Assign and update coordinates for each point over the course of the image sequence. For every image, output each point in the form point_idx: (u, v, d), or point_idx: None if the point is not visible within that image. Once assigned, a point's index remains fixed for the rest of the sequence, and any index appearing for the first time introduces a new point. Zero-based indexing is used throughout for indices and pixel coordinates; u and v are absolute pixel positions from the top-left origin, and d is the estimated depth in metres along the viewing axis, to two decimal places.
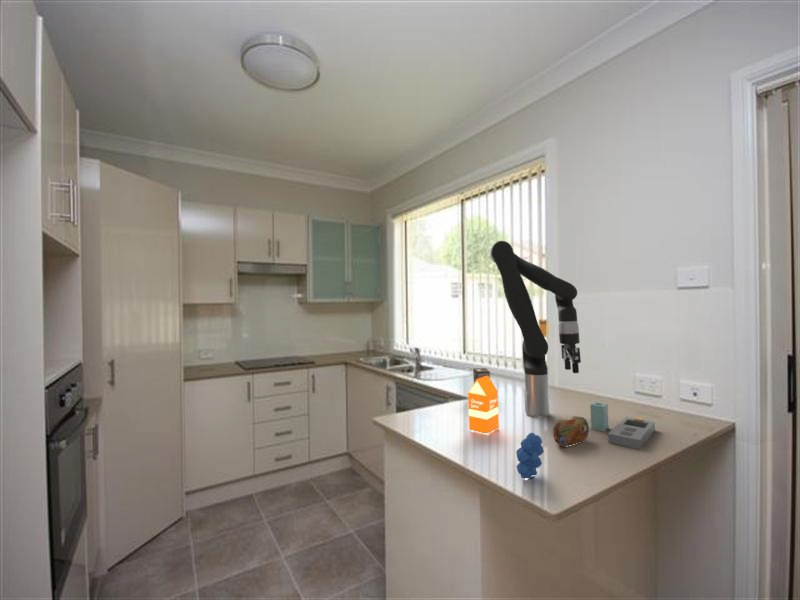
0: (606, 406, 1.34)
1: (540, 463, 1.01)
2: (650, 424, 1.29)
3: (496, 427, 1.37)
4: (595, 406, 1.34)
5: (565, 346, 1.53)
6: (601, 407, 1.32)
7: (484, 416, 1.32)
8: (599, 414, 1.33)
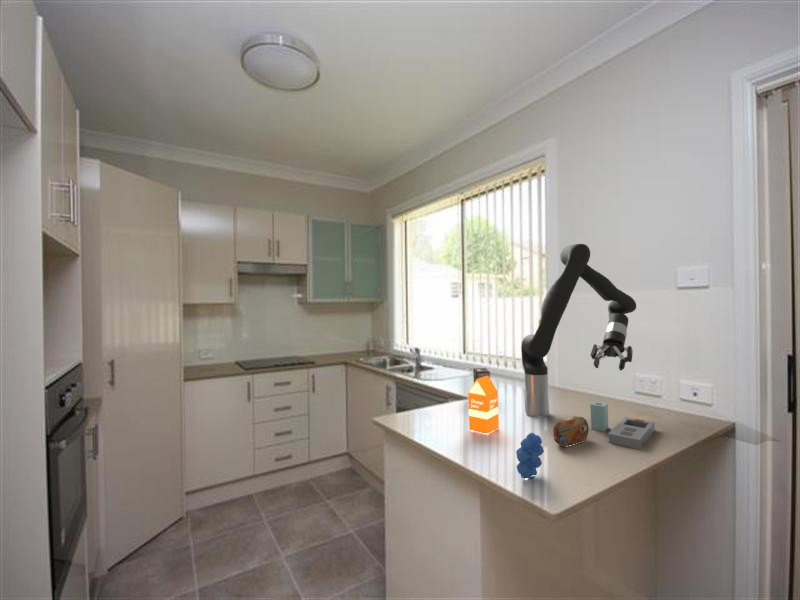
0: (606, 406, 1.34)
1: (540, 463, 1.01)
2: (650, 424, 1.29)
3: (496, 427, 1.37)
4: (595, 406, 1.34)
5: (606, 345, 1.49)
6: (601, 407, 1.32)
7: (484, 416, 1.32)
8: (599, 414, 1.33)
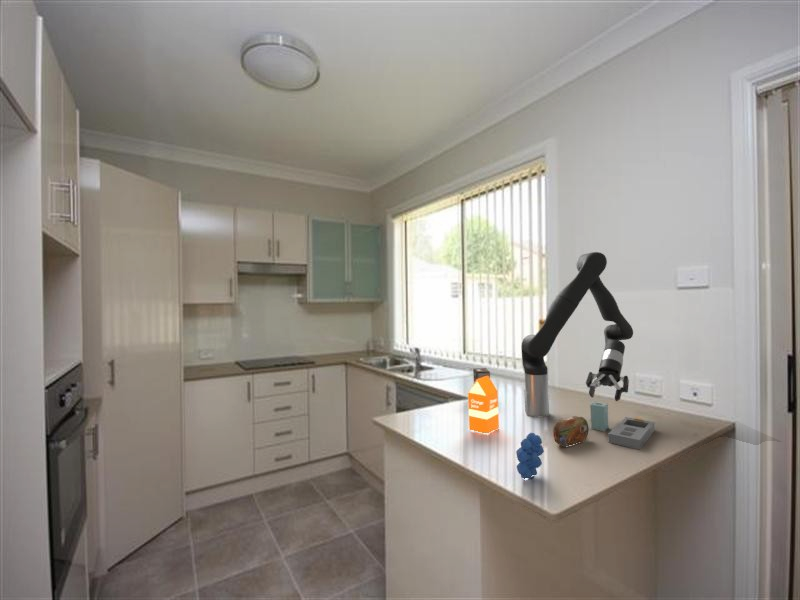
0: (606, 406, 1.34)
1: (540, 463, 1.01)
2: (650, 424, 1.29)
3: (496, 427, 1.37)
4: (595, 406, 1.34)
5: (602, 373, 1.45)
6: (601, 407, 1.32)
7: (484, 416, 1.32)
8: (599, 414, 1.33)
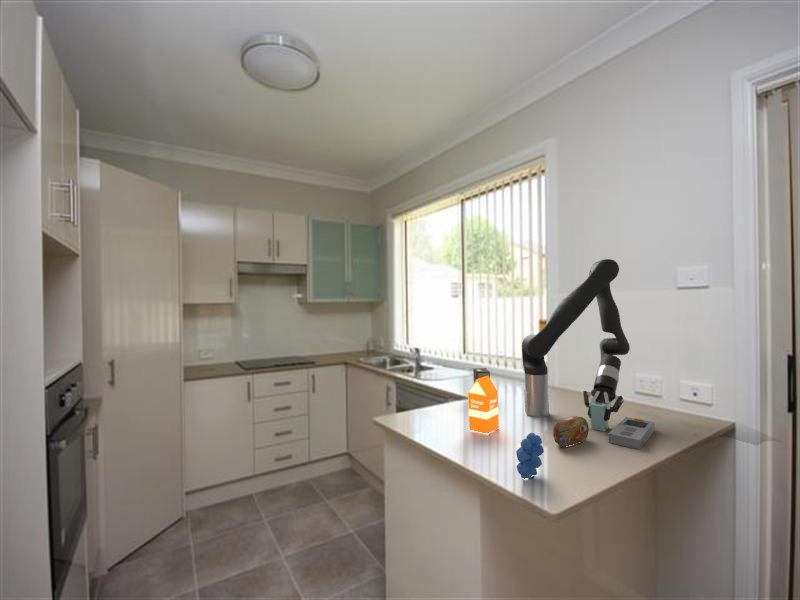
0: None
1: (540, 463, 1.01)
2: (650, 424, 1.29)
3: (496, 427, 1.37)
4: (595, 406, 1.34)
5: (597, 390, 1.40)
6: (601, 407, 1.32)
7: (484, 416, 1.32)
8: (599, 414, 1.33)
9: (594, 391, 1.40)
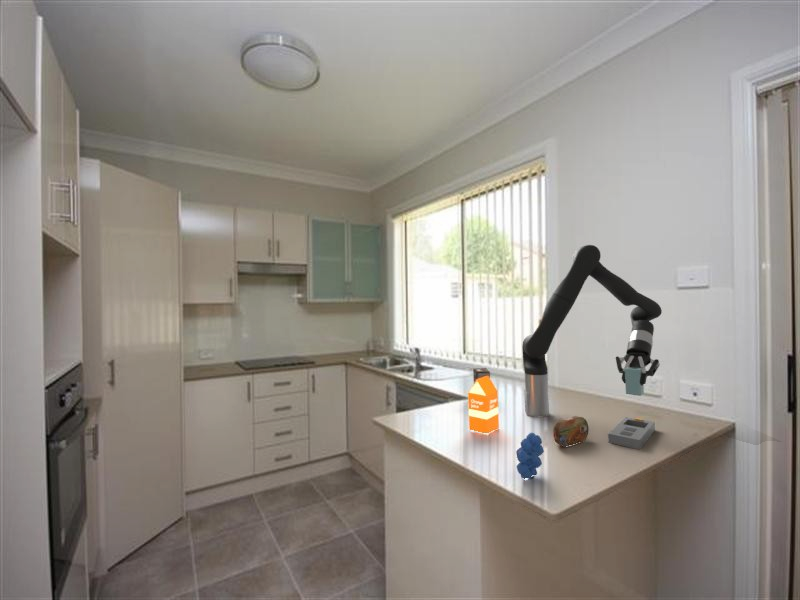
0: (641, 370, 1.29)
1: (540, 463, 1.01)
2: (650, 424, 1.29)
3: (496, 427, 1.37)
4: (630, 370, 1.29)
5: (630, 355, 1.35)
6: (637, 371, 1.28)
7: (484, 416, 1.32)
8: (634, 378, 1.28)
9: (627, 356, 1.35)
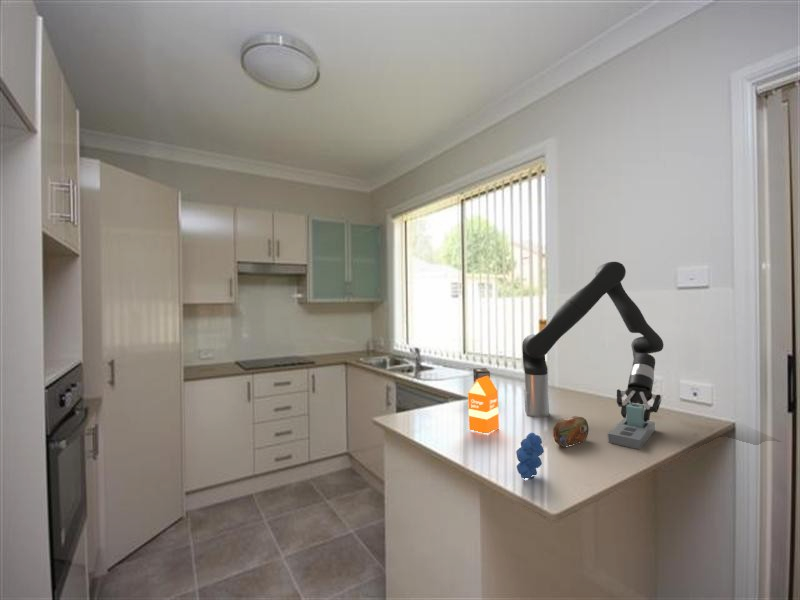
0: (643, 408, 1.29)
1: (540, 463, 1.01)
2: (650, 424, 1.29)
3: (496, 427, 1.37)
4: (632, 408, 1.29)
5: (632, 390, 1.35)
6: (638, 409, 1.27)
7: (484, 416, 1.32)
8: (636, 416, 1.28)
9: (629, 391, 1.35)
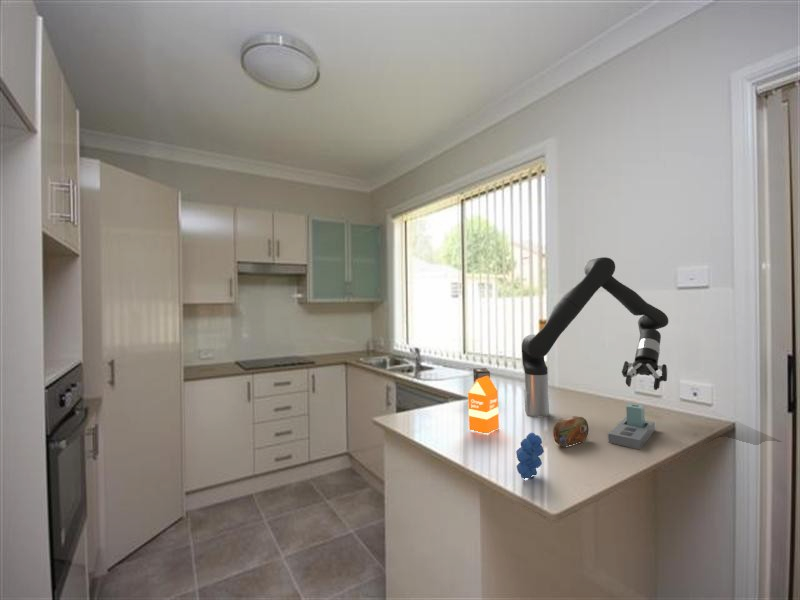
0: (643, 408, 1.29)
1: (540, 463, 1.01)
2: (650, 424, 1.29)
3: (496, 427, 1.37)
4: (632, 408, 1.29)
5: (638, 362, 1.43)
6: (638, 409, 1.27)
7: (484, 416, 1.32)
8: (636, 416, 1.28)
9: (635, 363, 1.43)
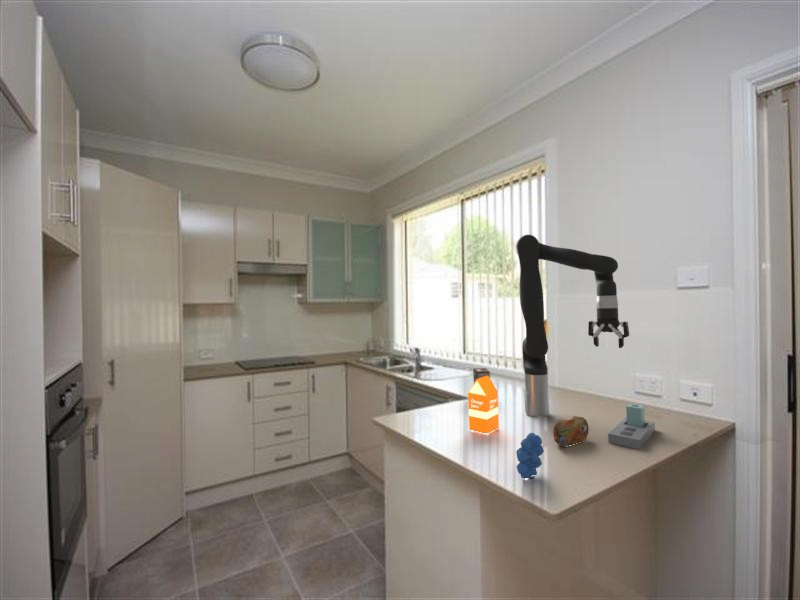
0: (643, 408, 1.29)
1: (540, 463, 1.01)
2: (650, 424, 1.29)
3: (496, 427, 1.37)
4: (632, 408, 1.29)
5: (601, 322, 1.48)
6: (638, 409, 1.27)
7: (484, 416, 1.32)
8: (636, 416, 1.28)
9: (599, 323, 1.48)
